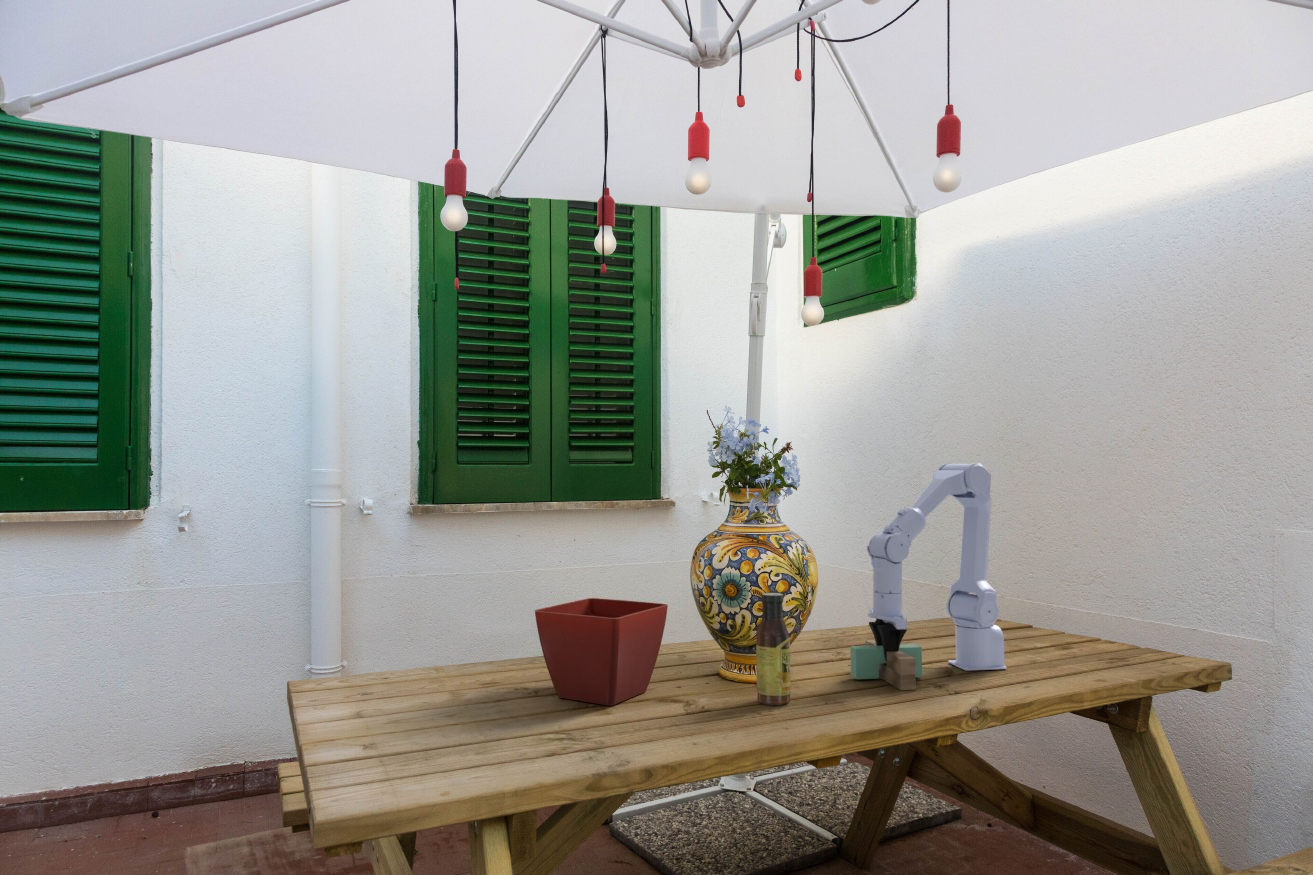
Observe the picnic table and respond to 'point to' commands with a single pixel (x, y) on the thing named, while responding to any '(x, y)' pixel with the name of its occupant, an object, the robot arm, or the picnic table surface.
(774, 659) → the sauce bottle
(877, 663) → the green notched bar
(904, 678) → the walnut notched bar
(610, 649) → the plant pot
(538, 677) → the picnic table surface
